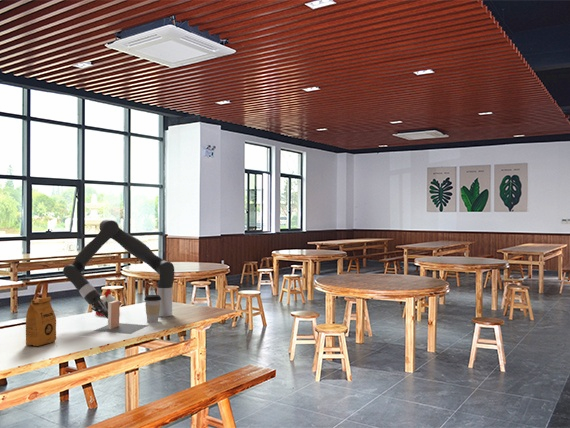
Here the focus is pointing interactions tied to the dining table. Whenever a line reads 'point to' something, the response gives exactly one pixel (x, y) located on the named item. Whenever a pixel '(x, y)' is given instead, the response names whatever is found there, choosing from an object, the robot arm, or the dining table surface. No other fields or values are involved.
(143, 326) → the mat
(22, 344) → the dining table surface
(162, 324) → the dining table surface
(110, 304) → the tile
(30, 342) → the coffee package
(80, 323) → the dining table surface
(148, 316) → the coffee cup
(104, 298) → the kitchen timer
